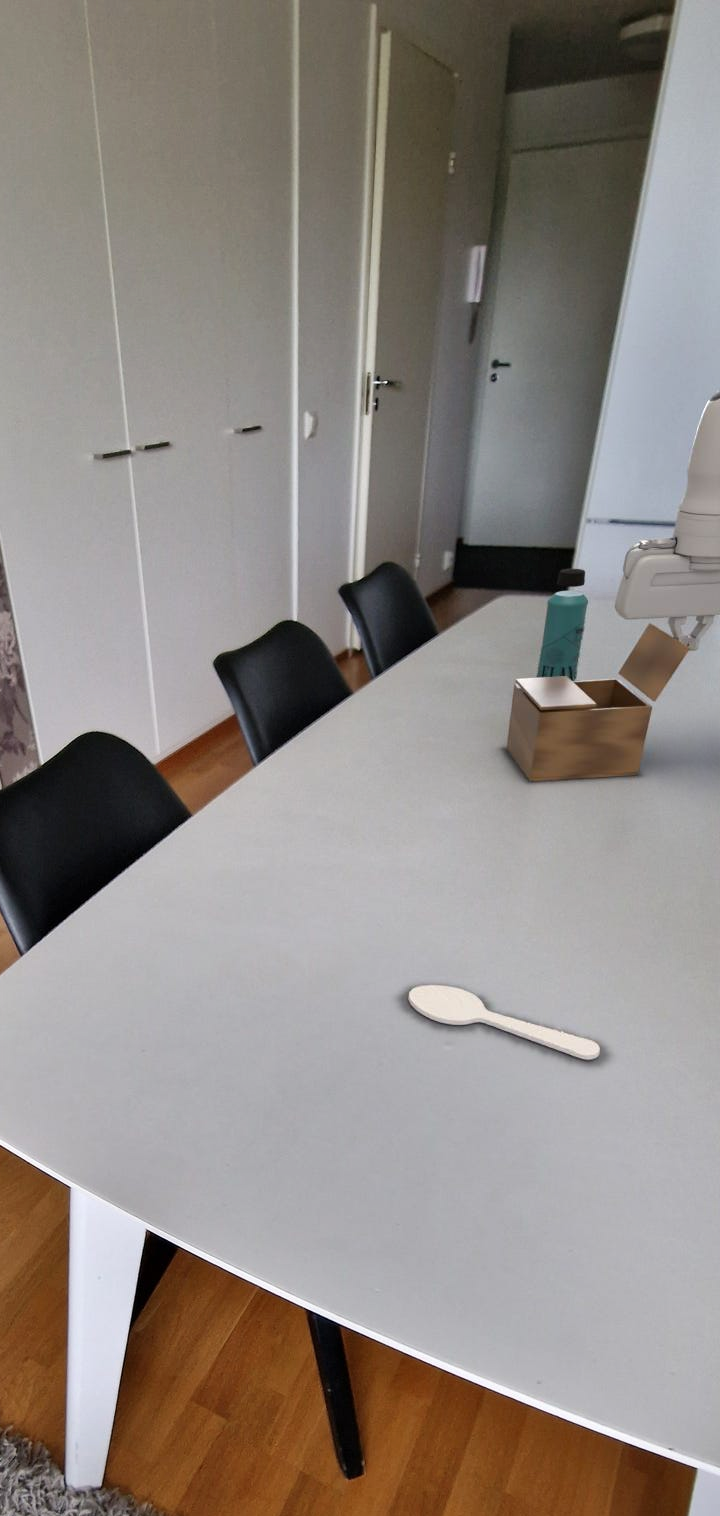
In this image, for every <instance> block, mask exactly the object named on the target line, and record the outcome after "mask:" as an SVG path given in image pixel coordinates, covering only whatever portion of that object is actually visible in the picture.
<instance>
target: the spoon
mask: <svg viewBox="0 0 720 1516" xmlns="http://www.w3.org/2000/svg"><path fill="white" fill-rule="evenodd" d="M408 1002H409V1004H410V1005H411V1007H412V1008H413V1009H414V1010H416V1012H418V1013H419V1014H421V1015H422V1016H425V1017H426V1018H429V1019H430V1020H433V1021H435V1022H438V1023H442V1024H446V1025H453V1026H454V1025H455V1026H461V1025H470V1024H474V1023H483V1024H486V1025H488V1026H492V1027H495V1028H497V1029H500V1030H501V1031H505V1032H508V1033H510V1034H513V1035H515V1036H518V1037H520V1038H524V1039H526V1040H530V1041H532V1042H534V1043H538V1044H540V1045H543V1046H546V1047H548V1048H551V1049H553V1050H556V1051H559V1052H562V1053H566V1054H567V1055H571V1056H572V1057H575V1058H579V1059H582V1060H589V1061H590V1060H594V1059H597V1058H598V1057H599V1056H600V1054H601V1053H600V1052H601V1047H600V1045H599V1044H598V1043H597V1042H595V1041H594V1040H591V1039H589V1038H584V1037H582V1036H581V1037H580V1036H576V1035H574V1034H572V1033H567V1032H564V1031H563V1030H560V1031H559V1030H557V1029H555V1028H553V1029H552V1028H548V1027H546V1026H542V1025H541V1024H539V1025H537V1024H535V1023H534V1024H533V1023H531V1022H530V1021H528V1022H526V1021H525V1020H521V1019H517V1018H515V1017H510V1016H508V1015H507V1016H506V1015H503V1014H501V1013H496V1012H493V1011H490V1010H489V1009H488V1008H486V1007H485V1004H484V1003H483V1002H482V999H480V998H479V997H478V996H477V995H475V994H474V993H472V992H470V991H467V990H466V989H462V988H460V987H454V986H448V985H444V984H443V985H442V984H441V985H439V984H426V985H423V984H422V985H417V986H415V987H413V988H412V989H410V991H409V992H408Z"/></svg>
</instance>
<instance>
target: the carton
mask: <svg viewBox="0 0 720 1516" xmlns="http://www.w3.org/2000/svg"><path fill="white" fill-rule="evenodd" d="M514 680H515V683H516V684H514V685H513V691H512V692H513V693H512V699H511V700H512V701H511V709H510V715H509V725H508V730H507V731H508V732H507V739H506V740H507V741H506V748H505V749H506V750H507V752H508V753H509V754H510V756H511V757H512V759H513V760H514V761H515V763H516V764H517V765H518V767H519V768H520V769H521V771H522V772H523V773H524V775H525V776H526V777H527V779H528V780H529V782H545V781H560V780H561V781H562V780H578V779H595V778H596V779H597V778H613V777H628V776H629V777H631V776H638V775H639V770H640V767H641V761H642V757H643V752H644V747H645V743H646V740H647V739H646V738H647V735H648V729H649V724H650V720H651V715H652V711H653V705H651V704H650V703H648V702H647V701H646V700H645V699H644V698H642V697H641V696H640V695H639V694H637V692H635V691H634V690H633V689H631V688H630V687H629V686H628V685H626V684H625V683H624V682H623V681H622V680H620V679H619V678H603V679H588V680H587V679H585V680H575V681H571V680H570V679H569V678H568V677H567V676H557V677H541V678H537V677H526V678H525V677H523V678H515V679H514Z"/></svg>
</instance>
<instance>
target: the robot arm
mask: <svg viewBox="0 0 720 1516" xmlns="http://www.w3.org/2000/svg"><path fill="white" fill-rule="evenodd" d="M692 443H693V444H692V447H691V451H690V456H689V459H688V464H687V471H686V472H687V473H686V474H687V475H686V476H687V482H686V483H687V485H686V490H685V493H684V494H683V498H682V499H681V501H680V504H679V506H678V511H677V516H676V520H675V525H674V530H673V534H672V535H673V536H672V537H668V538H666V537H665V538H658V539H650V538H645V539H642V540H639V541H638V543H636V544H634V545H632V546H631V547H630V548H629V549H628V550H627V551H626V553H625V556H624V560H623V567H622V572H623V574H622V577H621V580H620V583H619V587H618V590H617V594H616V598H615V603H614V609H615V611H616V613H617V614H618V616H620V617H621V618H623V619H624V620H628V621H629V620H646V619H647V620H648V619H664V618H666V619H667V618H668V621H667V623H668V626H669V629H670V632H671V634H672V635H671V636H672V637H673V638H675V639H677V640H678V641H680V642H681V643H683V644H685V645H686V646H688V647H689V648H690V650H689V651H688V652H695V651H698V649H699V645H700V641H701V638H702V637H703V636H704V635H705V634H706V633H707V631H708V630H709V629H710V628H711V626H712V625H713V623H714V620H715V616H720V389H719V390H717V391H716V392H714V394H713V395H712V396H711V397H709V399H708V401H707V403H706V405H705V407H704V408H703V412H702V414H701V416H700V420H699V422H698V425H697V428H696V432H695V436H694V439H693V442H692ZM636 548H638V549H636ZM688 617H695V621H696V622H697V624H696V625H695V627H694V628H693V629H692V631H691V632H690V634H689V633H688V634H683V630H682V627H681V626H685V625H686V621H687V619H688Z"/></svg>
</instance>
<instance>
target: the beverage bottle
mask: <svg viewBox="0 0 720 1516" xmlns="http://www.w3.org/2000/svg"><path fill="white" fill-rule="evenodd" d="M585 578H586V570H584V569H581V568H564V569H561V570H560V571H559V572H558V578H557V582H556V585H557V586H560V587H567V588H577V587H583V586H584V585H585V582H586V579H585ZM588 604H589V599H588V598H587V597H586V595H585V594H584V592H581V591H578V590H561V591H556V592H555V593H553V595H551V596H550V597H549V598H548V600H547V606H546V614H545V621H544V629H543V635H542V643H541V647H540V653H539V657H538V658H539V659H538V661H537V662H538V664H537V665H538V666H537V673H536V675H535V678H541V677H557V676H567V677H568V678H569V679H570V680H571V681H576V680H577V676H578V671H579V669H578V666H579V663H580V662H579V661H580V657H581V648H582V647H581V646H582V641H583V639H584V638H583V636H584V632H585V628H586V626H585V623H586V615H587V609H588Z"/></svg>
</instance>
